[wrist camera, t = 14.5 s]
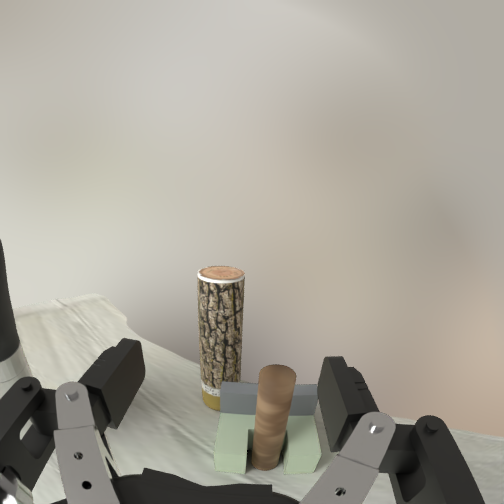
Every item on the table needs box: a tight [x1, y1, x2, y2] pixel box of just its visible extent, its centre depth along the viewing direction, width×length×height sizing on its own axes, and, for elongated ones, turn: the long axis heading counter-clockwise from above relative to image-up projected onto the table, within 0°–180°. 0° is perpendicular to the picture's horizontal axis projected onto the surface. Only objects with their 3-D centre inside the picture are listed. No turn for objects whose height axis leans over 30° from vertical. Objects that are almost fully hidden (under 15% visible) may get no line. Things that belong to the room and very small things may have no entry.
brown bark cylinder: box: [198, 266, 245, 411], centre depth 42 cm, size 7×7×25 cm
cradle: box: [213, 413, 322, 474], centre depth 31 cm, size 14×8×6 cm, turn 88°
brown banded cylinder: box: [251, 365, 296, 471], centre depth 29 cm, size 4×4×18 cm
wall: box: [220, 381, 318, 416], centre depth 36 cm, size 14×2×10 cm, turn 88°
